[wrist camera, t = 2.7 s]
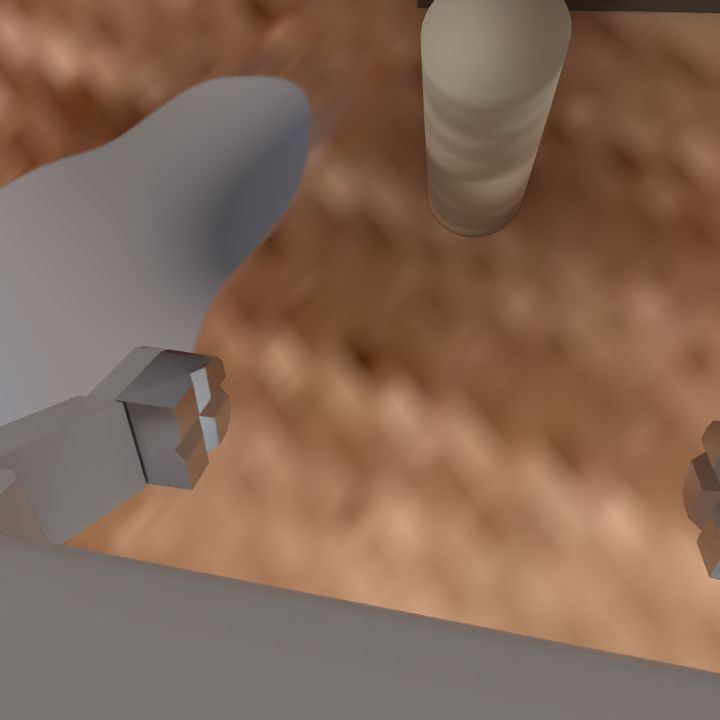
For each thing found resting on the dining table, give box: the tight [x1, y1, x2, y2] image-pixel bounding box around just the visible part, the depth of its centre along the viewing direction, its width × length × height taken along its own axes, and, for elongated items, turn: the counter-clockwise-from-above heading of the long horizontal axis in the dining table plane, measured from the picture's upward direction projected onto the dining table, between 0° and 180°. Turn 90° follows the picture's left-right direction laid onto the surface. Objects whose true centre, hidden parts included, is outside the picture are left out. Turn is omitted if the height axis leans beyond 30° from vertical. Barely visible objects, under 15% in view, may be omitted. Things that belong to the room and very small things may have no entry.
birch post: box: [421, 0, 572, 237], centre depth 22 cm, size 4×4×10 cm
